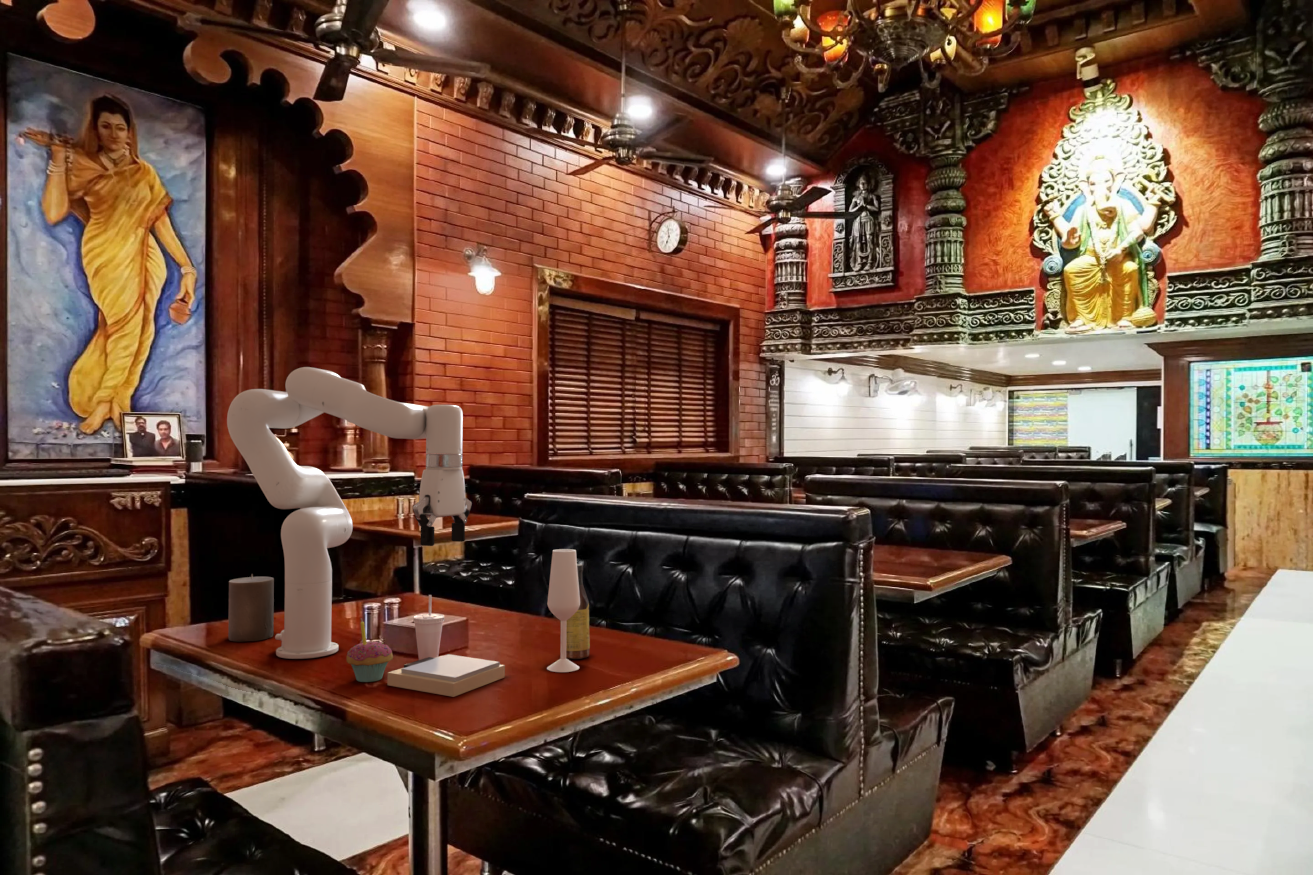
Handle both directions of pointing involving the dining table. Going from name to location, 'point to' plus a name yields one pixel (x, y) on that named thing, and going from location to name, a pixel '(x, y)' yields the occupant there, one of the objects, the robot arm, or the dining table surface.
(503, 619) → the dining table surface
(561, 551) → the champagne flute
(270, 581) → the pillar candle
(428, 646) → the smoothie
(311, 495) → the robot arm
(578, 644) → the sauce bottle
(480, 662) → the scale
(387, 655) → the cupcake
